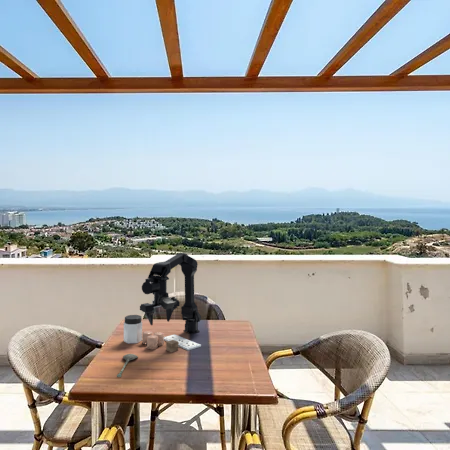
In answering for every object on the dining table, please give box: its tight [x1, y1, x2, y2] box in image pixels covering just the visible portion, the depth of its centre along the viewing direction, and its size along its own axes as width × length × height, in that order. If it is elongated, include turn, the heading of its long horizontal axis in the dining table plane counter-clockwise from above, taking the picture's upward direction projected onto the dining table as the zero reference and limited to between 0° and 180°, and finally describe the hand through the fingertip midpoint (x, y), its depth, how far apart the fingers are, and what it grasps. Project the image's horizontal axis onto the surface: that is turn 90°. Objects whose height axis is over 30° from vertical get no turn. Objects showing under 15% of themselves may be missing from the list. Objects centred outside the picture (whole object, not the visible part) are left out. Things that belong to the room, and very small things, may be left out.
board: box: [164, 333, 202, 351], centre depth 186 cm, size 8×21×1 cm, turn 45°
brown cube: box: [165, 340, 179, 353], centre depth 176 cm, size 4×4×4 cm
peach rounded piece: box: [141, 330, 154, 346], centre depth 185 cm, size 5×5×5 cm
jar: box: [123, 314, 143, 345], centre depth 187 cm, size 9×8×12 cm
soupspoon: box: [116, 353, 139, 378], centre depth 157 cm, size 22×3×7 cm
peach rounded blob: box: [146, 334, 159, 350], centre depth 179 cm, size 5×5×5 cm
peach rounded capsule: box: [153, 331, 165, 347], centre depth 184 cm, size 5×5×5 cm
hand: (160, 323), depth 178 cm, fingers open, 9 cm apart
